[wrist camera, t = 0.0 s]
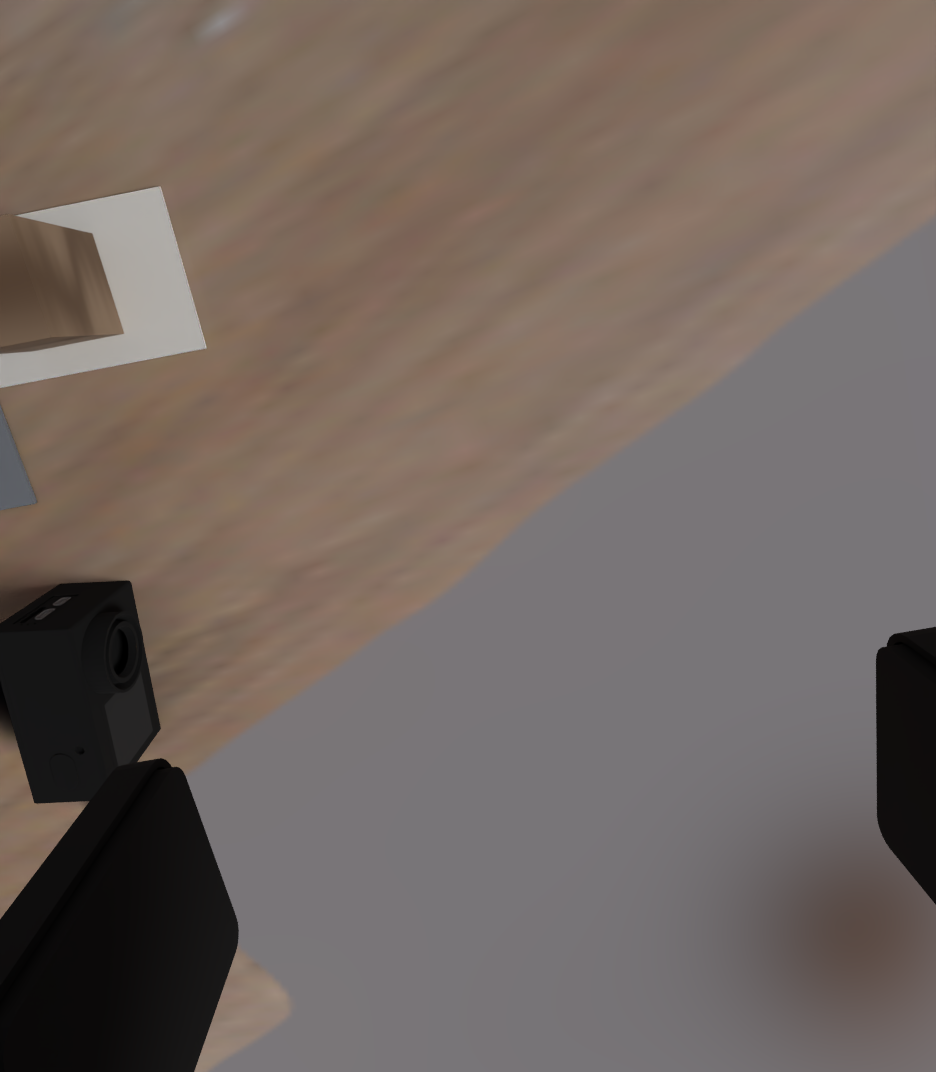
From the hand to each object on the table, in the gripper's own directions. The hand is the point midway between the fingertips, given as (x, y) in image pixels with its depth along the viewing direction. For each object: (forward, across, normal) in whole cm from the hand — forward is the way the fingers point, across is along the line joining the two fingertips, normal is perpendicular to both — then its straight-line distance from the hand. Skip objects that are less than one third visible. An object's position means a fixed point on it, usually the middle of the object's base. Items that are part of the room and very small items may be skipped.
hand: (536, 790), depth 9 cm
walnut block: (+31, +20, -11) cm, 38 cm away
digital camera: (+32, +24, +10) cm, 41 cm away
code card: (+31, +20, -11) cm, 39 cm away
